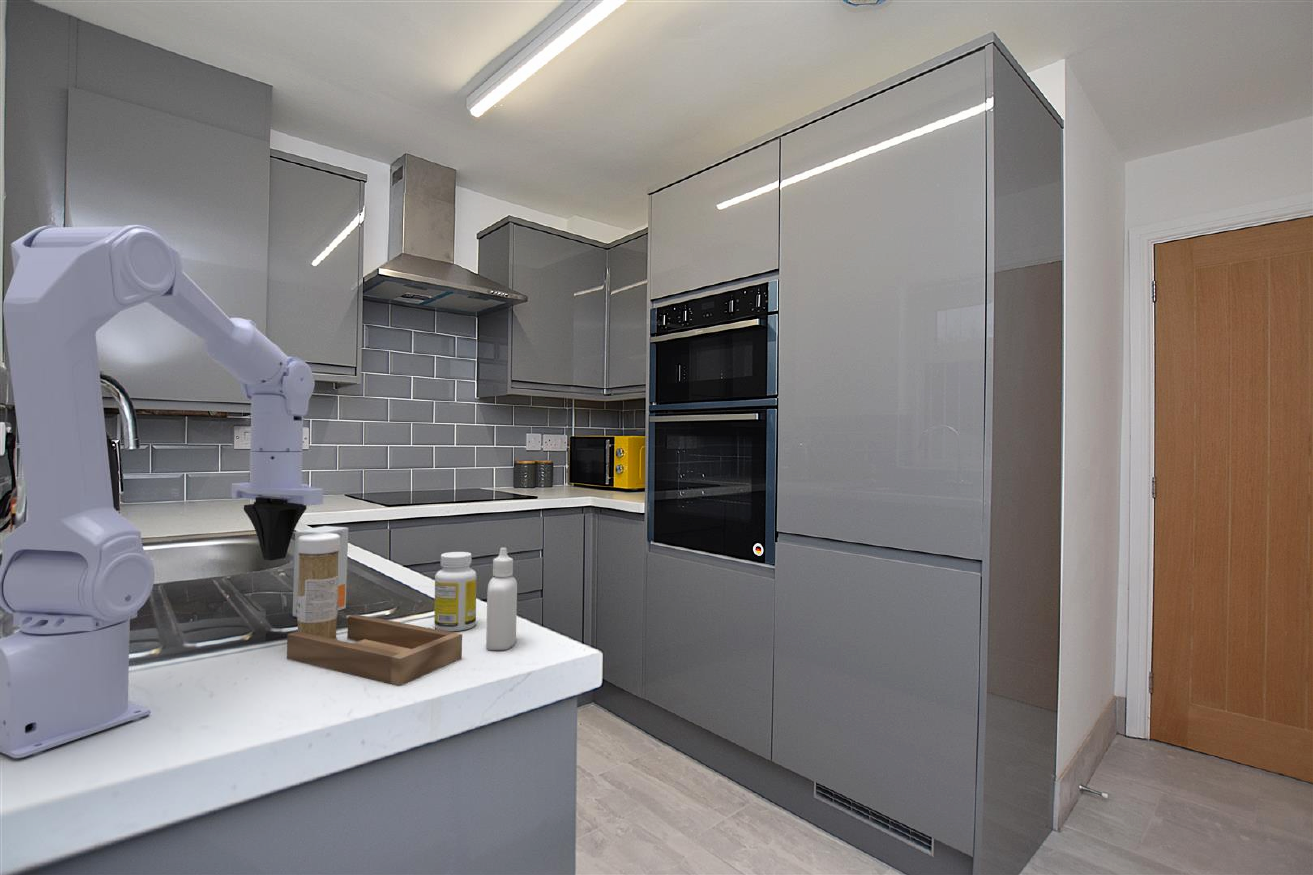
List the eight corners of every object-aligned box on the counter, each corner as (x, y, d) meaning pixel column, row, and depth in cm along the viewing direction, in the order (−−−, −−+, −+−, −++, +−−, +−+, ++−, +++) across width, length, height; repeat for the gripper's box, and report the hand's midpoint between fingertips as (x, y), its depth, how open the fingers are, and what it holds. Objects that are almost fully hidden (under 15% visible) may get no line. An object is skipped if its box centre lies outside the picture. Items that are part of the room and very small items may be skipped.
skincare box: (318, 619, 90) (320, 532, 90) (291, 617, 91) (293, 531, 91) (347, 608, 96) (349, 526, 96) (322, 606, 97) (324, 525, 97)
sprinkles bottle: (299, 641, 81) (301, 532, 80) (340, 638, 82) (342, 531, 82) (292, 653, 76) (294, 538, 76) (335, 649, 78) (337, 537, 78)
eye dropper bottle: (471, 647, 80) (474, 549, 80) (503, 635, 85) (505, 543, 85) (499, 653, 78) (501, 553, 78) (529, 640, 83) (531, 546, 83)
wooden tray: (399, 685, 67) (400, 658, 67) (286, 658, 74) (287, 634, 74) (461, 658, 76) (462, 634, 76) (355, 636, 83) (355, 614, 83)
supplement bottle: (469, 618, 92) (471, 549, 92) (480, 629, 87) (482, 556, 87) (430, 623, 89) (431, 552, 89) (439, 634, 84) (440, 559, 84)
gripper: (344, 452, 83) (342, 559, 83) (268, 449, 89) (266, 548, 89) (293, 453, 77) (291, 569, 77) (215, 449, 83) (213, 556, 83)
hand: (274, 558), depth 82 cm, fingers closed
